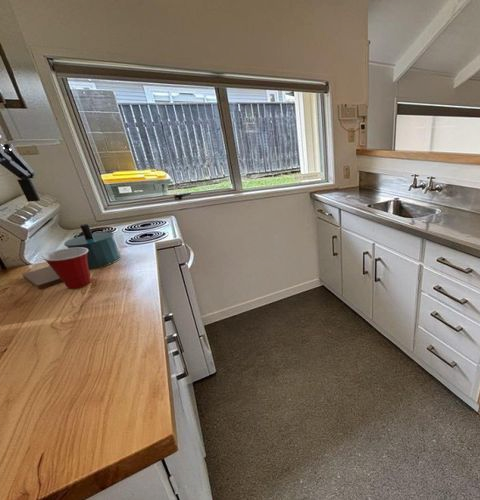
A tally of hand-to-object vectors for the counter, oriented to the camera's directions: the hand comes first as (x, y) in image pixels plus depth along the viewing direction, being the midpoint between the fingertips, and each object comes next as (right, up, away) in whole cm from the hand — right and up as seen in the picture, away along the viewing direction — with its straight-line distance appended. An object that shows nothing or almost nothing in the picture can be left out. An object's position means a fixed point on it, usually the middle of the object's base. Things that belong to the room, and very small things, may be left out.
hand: (14, 206), depth 80 cm
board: (-13, -22, +23) cm, 34 cm away
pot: (-6, -17, +33) cm, 38 cm away
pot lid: (-6, -8, +30) cm, 32 cm away
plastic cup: (+4, -24, +16) cm, 29 cm away
